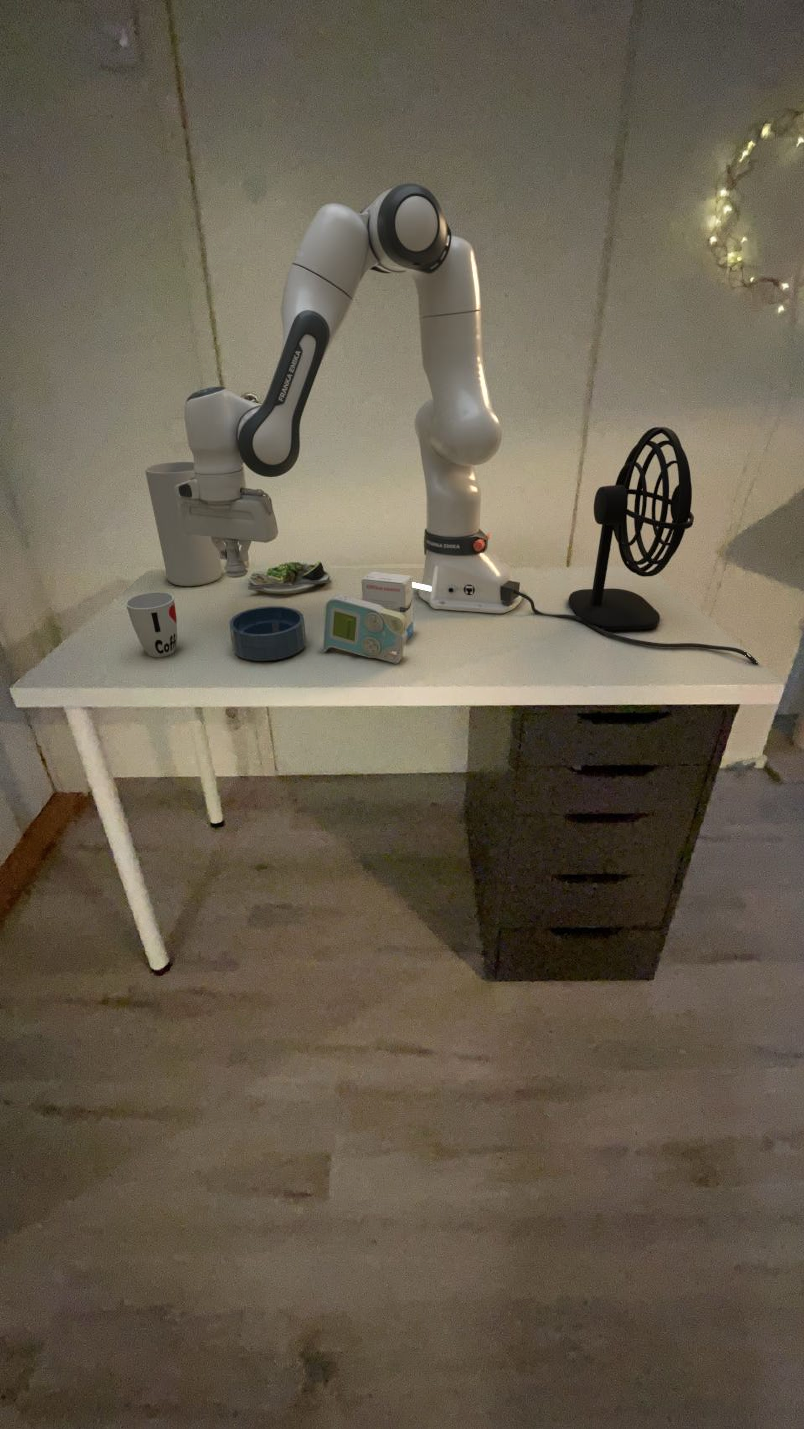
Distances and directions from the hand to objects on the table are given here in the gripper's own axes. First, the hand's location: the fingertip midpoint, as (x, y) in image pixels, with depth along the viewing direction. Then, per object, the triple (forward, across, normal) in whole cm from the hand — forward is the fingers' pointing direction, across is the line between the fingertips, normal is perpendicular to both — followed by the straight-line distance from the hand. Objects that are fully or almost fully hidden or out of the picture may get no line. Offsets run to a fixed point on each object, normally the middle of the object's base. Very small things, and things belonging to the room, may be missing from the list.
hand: (234, 559), depth 127 cm
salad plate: (+13, +2, -22) cm, 25 cm away
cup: (+12, +6, +18) cm, 23 cm away
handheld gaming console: (+13, -30, +6) cm, 34 cm away
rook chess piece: (+3, 0, 0) cm, 3 cm away
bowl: (+12, -12, +9) cm, 20 cm away
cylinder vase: (+12, +25, -16) cm, 32 cm away
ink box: (+13, -31, -4) cm, 34 cm away
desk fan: (+14, -70, -31) cm, 78 cm away
